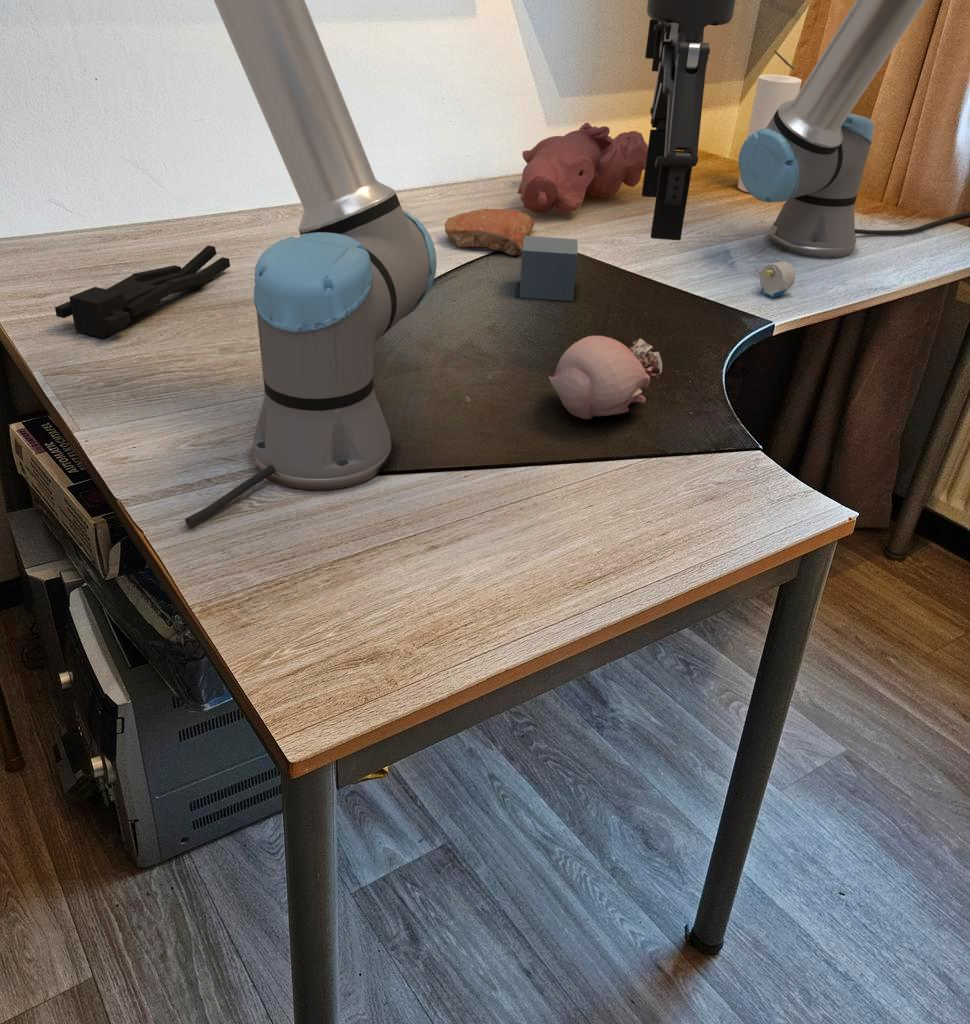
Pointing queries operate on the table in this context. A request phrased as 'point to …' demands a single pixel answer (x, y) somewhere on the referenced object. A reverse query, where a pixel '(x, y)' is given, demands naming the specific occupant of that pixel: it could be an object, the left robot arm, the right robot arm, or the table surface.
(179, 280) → the toy
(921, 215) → the table surface
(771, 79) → the tall white tube
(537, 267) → the grey cube
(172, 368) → the table surface
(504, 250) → the ceramic shard
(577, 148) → the reddish clay animal figure
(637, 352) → the toy
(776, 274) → the electric motor
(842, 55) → the right robot arm
